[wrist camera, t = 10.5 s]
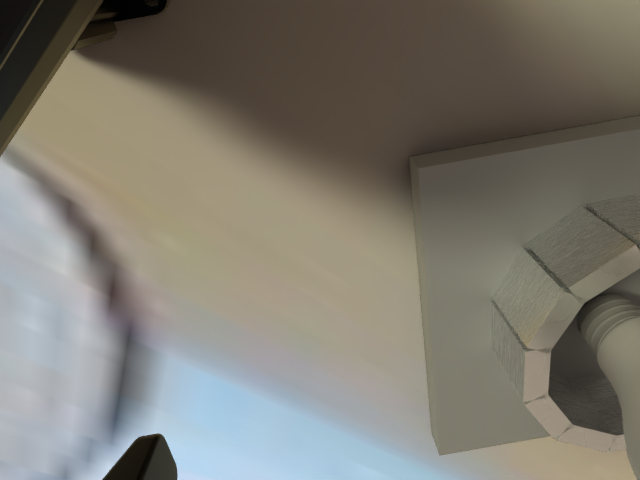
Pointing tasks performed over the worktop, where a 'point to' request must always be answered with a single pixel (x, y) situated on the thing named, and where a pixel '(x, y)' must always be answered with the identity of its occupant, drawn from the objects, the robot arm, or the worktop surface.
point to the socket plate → (503, 263)
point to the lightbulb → (618, 358)
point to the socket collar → (565, 317)
